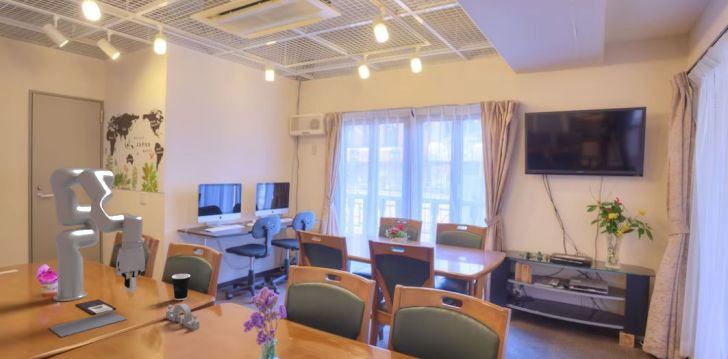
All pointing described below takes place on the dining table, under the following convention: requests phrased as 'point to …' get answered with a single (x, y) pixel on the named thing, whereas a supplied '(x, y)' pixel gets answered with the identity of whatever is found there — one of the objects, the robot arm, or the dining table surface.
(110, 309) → the chocolate bar
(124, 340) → the dining table surface
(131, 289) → the slab
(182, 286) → the dixie cup
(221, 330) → the dining table surface
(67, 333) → the mat
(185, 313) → the grey arched bracket
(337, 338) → the dining table surface
